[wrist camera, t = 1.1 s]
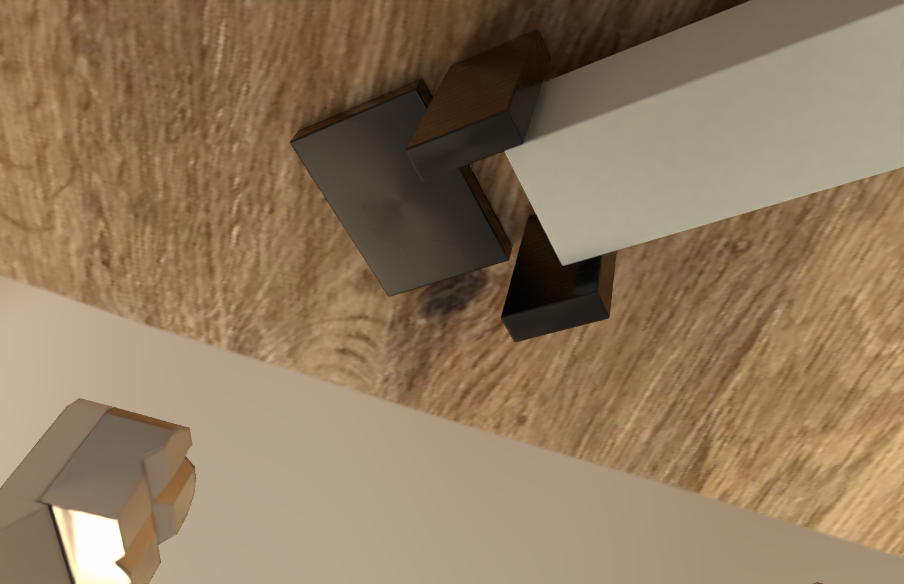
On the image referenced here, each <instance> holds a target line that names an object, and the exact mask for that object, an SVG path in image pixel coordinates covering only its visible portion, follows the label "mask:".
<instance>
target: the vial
mask: <svg viewBox="0 0 904 584" xmlns="http://www.w3.org/2000/svg"><path fill="white" fill-rule="evenodd" d="M504 152H505V154H506V156H507V158H508V160H509V162H510V164H511V166H512V168H513V170H514V172H515V174H516V175H517V177H518V179H519V181H520V183H521V185H522V187H523V189H524V191H525V193H526V195H527V197H528V199H529V201H530V203H531V205H532V207H533V209H534V211H535V213H536V215H537V217H538V219H539V221H540V223H541V225H542V227H543V229H544V231H545V233H546V235H547V237H548V239H549V241H550V243H551V245H552V246H553V248H554V250H555V252H556V254H557V256H558V258H559V260H560V262H561V264H562V265H563V266H565V265H568V264H572V263H575V262H579V261H582V260H585V259H589V258H592V257H596V256H599V255H603V254H606V253H609V252H613V251H616V250H620V249H623V248H627V247H630V246H633V245H637V244H640V243H644V242H647V241H651V240H654V239H658V238H661V237H664V236H668V235H671V234H675V233H678V232H682V231H685V230H688V229H692V228H695V227H699V226H702V225H706V224H709V223H712V222H716V221H719V220H723V219H726V218H730V217H733V216H736V215H740V214H743V213H747V212H750V211H754V210H757V209H761V208H764V207H767V206H771V205H774V204H778V203H781V202H785V201H788V200H791V199H795V198H798V197H802V196H805V195H809V194H812V193H815V192H819V191H822V190H826V189H829V188H833V187H836V186H839V185H843V184H846V183H850V182H853V181H857V180H860V179H864V178H867V177H870V176H874V175H877V174H881V173H884V172H888V171H891V170H894V169H898V168H901V167H904V0H750V1H748V2H745V3H743V4H740V5H738V6H735V7H733V8H730V9H728V10H725V11H723V12H720V13H718V14H715V15H713V16H710V17H708V18H705V19H703V20H700V21H697V22H695V23H692V24H690V25H687V26H685V27H682V28H680V29H677V30H675V31H672V32H670V33H667V34H665V35H662V36H660V37H657V38H655V39H652V40H650V41H647V42H644V43H642V44H639V45H637V46H634V47H632V48H629V49H627V50H624V51H622V52H619V53H617V54H614V55H612V56H609V57H607V58H604V59H602V60H599V61H597V62H594V63H591V64H589V65H586V66H584V67H581V68H579V69H576V70H574V71H571V72H569V73H566V74H564V75H561V76H559V77H556V78H554V79H551V80H549V81H546V82H544V83H543V85H542V88H541V91H540V94H539V97H538V100H537V103H536V107H535V110H534V113H533V116H532V119H531V122H530V126H529V129H528V132H527V135H526V138H525V141H524V144H522V145H519V146H517V147H514V148H511V149H508V150H506V151H504Z"/></svg>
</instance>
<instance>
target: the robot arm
mask: <svg viewBox="0 0 904 584" xmlns="http://www.w3.org/2000/svg"><path fill="white" fill-rule="evenodd" d="M191 446H192V440H191V434H190V429H189V428H188V427H184V426H181V425H177V424H173V423H170V422H166V421H163V420H159V419H155V418H152V417H148V416H144V415H141V414H137V413H133V412H129V411H126V410H123V409H119V408H116V407H112V406H108V405H104V404H100V403H96V402H92V401H88V400H84V399H80V398H79V399H78V400H76V401H74V402H73V403H71V404H70V405H68V406H67V407H66V408H65V409H64V410H63V412H62V413H61V414H60V415H59V416H58V418H57V419H56V420H55V421H54V423H53V424H52V425H51V427H50V428H49V429H48V430H47V431H46V433H45V434H44V435H43V436H42V437H41V439H40V440H39V441H38V442H37V444H36V445H35V446H34V447H33V449H32V450H31V451H30V452H29V454H28V455H27V456H26V457H25V458H24V460H23V461H22V462H21V463H20V465H19V466H18V467H17V468H16V470H15V471H14V472H13V473H12V474H11V476H10V477H9V478H8V479H7V481H6V482H5V483H4V484H3V485H2V487H1V488H0V584H149V582H150V581H151V579H152V577H153V575H154V574H155V572H156V570H157V568H158V567H159V565H160V563H161V560H160V553H159V547H158V545H159V544H161V543H162V542H164V541H166V540H167V539H169V538H171V537H173V536H174V535H176V534H177V533H178V531H179V529H180V528H181V526H182V524H183V522H184V520H185V518H186V516H187V514H188V511H189V508H190V505H191V502H192V499H193V496H194V492H195V483H196V474H195V466H194V465H193V464H192V463H191V462H190V461H189V459H188V458H187V457H186V454H187V452H188V450H189V449H190V447H191ZM814 584H822V583H818V582H817V583H814Z"/></svg>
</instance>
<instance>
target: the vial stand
mask: <svg viewBox="0 0 904 584" xmlns="http://www.w3.org/2000/svg"><path fill="white" fill-rule="evenodd" d="M549 62H550V56H549V53H548V51H547V49H546V47H545V44H544V42H543V40H542V38H541V36H540V33H539V31H538V30H535V31H532V32H530V33H528V34H525V35H523V36H521V37H518V38H516V39H514V40H511V41H509V42H507V43H504V44H502V45H500V46H497V47H495V48H493V49H490V50H488V51H485V52H483V53H481V54H478V55H476V56H474V57H471V58H469V59H467V60H464V61H462V62H460V63H457V64H455V65H453V66H451V67H450V68H449V70H448V72H447V74H446V76H445V77H444V79H443V81H442V83H441V85H440V87H439V88H438V90H437V92H436V94H435V96H434V98H433V99H432V97H431V95H430V93H429V91H428V89H427V88H426V86H425V84H424V82H423V80H422V79H421V80H418V81H415V82H413V83H411V84H408V85H406V86H404V87H401V88H399V89H397V90H394V91H392V92H390V93H387V94H385V95H383V96H380V97H378V98H376V99H373V100H371V101H369V102H366V103H364V104H362V105H359V106H357V107H355V108H352V109H350V110H348V111H345V112H343V113H341V114H338V115H336V116H334V117H331V118H329V119H326V120H324V121H322V122H319V123H317V124H315V125H312V126H310V127H308V128H305V129H303V130H301V131H298V132H297V133H296V135H295V136H294V137H293V139H292V140H291V141H290V144H291V145H292V147H293V148H294V150H295V151H296V153H297V155H298V156H299V158H300V159H301V161H302V162H303V164H304V165H305V167H306V169H307V170H308V172H309V173H310V175H311V176H312V178H313V179H314V181H315V183H316V184H317V186H318V187H319V189H320V190H321V192H322V194H323V195H324V197H325V198H326V200H327V201H328V203H329V204H330V206H331V208H332V209H333V211H334V212H335V214H336V215H337V217H338V218H339V220H340V222H341V223H342V225H343V226H344V228H345V229H346V231H347V232H348V234H349V236H350V237H351V239H352V240H353V242H354V243H355V245H356V246H357V248H358V250H359V251H360V253H361V254H362V256H363V257H364V259H365V261H366V262H367V264H368V265H369V267H370V268H371V270H372V271H373V273H374V275H375V276H376V278H377V279H378V281H379V282H380V284H381V285H382V287H383V289H384V290H385V292H386V293H387V295H388V296H393V295H396V294H400V293H403V292H406V291H409V290H413V289H416V288H419V287H423V286H426V285H429V284H433V283H436V282H439V281H442V280H446V279H449V278H452V277H456V276H459V275H462V274H465V273H469V272H472V271H475V270H479V269H482V268H485V267H489V266H492V265H495V264H498V263H502V262H505V261H508V260H509V258H510V255H511V251H512V246H511V245H510V243H509V241H508V239H507V237H506V235H505V233H504V231H503V230H502V228H501V226H500V224H499V222H498V220H497V218H496V217H495V215H494V213H493V211H492V209H491V207H490V205H489V203H488V202H487V200H486V198H485V196H484V194H483V192H482V190H481V189H480V187H479V185H478V183H477V181H476V179H475V177H474V175H473V174H472V172H471V170H470V168H469V166H468V164H470V163H473V162H476V161H478V160H481V159H484V158H487V157H489V156H492V155H495V154H497V153H500V152H503V151H506V150H508V149H511V148H514V147H517V146H519V145H522V144H524V141H525V138H526V135H527V132H528V129H529V126H530V122H531V119H532V116H533V113H534V110H535V107H536V103H537V100H538V97H539V94H540V91H541V88H542V85H543V81H544V78H545V75H546V72H547V69H548V66H549ZM616 253H617V250H616V251H613V252H609V253H606V254H603V255H599V256H596V257H592V258H589V259H585V260H582V261H579V262H575V263H572V264H568V265H565V266H563V265H562V264H561V262H560V260H559V258H558V256H557V254H556V252H555V250H554V248H553V246H552V245H551V243H550V241H549V239H548V237H547V235H546V233H545V231H544V229H543V227H542V225H541V223H540V221H539V219H538V217H537V215H534V216H531V217H529V218H528V219H527V223H526V226H525V230H524V234H523V238H522V241H521V245H520V249H519V252H518V256H517V260H516V264H515V267H514V271H513V275H512V279H511V282H510V286H509V290H508V293H507V297H506V301H505V305H504V308H503V312H502V316H501V319H502V321H503V323H504V325H505V326H506V328H507V330H508V332H509V333H510V335H511V337H512V339H513V340H514V342H519V341H522V340H526V339H530V338H534V337H538V336H542V335H546V334H550V333H554V332H558V331H561V330H565V329H569V328H573V327H577V326H581V325H585V324H589V323H593V322H597V321H601V320H604V319H608V318H609V317H610V308H611V299H612V289H613V280H614V271H615V262H616Z"/></svg>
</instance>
